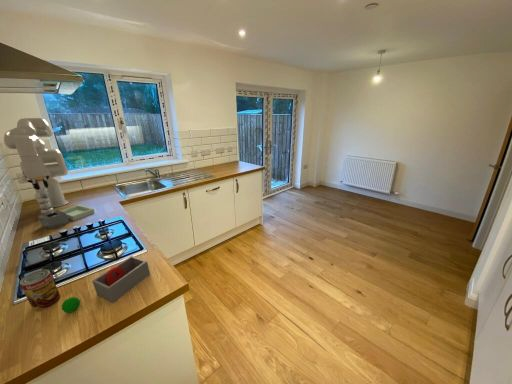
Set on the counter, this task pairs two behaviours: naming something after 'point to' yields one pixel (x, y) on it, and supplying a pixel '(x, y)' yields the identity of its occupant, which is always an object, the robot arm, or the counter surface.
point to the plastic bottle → (43, 204)
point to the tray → (78, 212)
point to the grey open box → (122, 279)
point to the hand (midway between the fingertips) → (41, 188)
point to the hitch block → (53, 219)
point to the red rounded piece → (109, 274)
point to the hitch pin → (42, 188)
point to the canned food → (40, 289)
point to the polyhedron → (70, 304)
